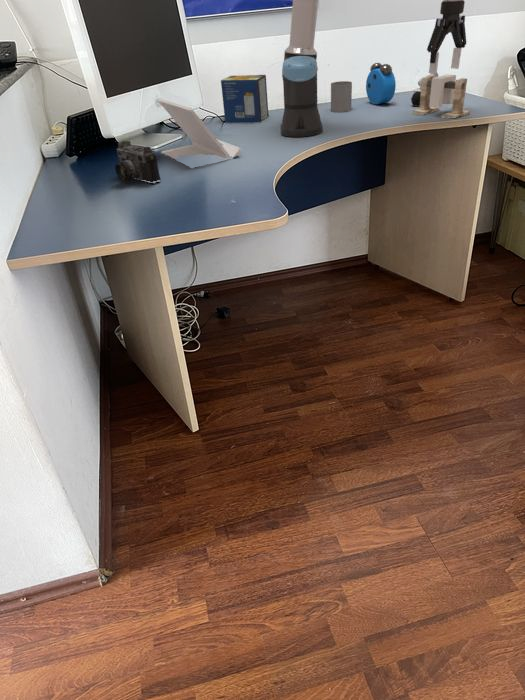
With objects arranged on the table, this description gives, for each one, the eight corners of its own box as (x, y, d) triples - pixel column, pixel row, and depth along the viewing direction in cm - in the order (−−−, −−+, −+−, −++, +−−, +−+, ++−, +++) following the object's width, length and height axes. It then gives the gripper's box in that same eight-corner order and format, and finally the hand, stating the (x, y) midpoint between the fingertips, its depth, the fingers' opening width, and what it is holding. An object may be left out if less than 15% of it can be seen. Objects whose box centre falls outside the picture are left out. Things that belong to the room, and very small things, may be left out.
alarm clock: (394, 105, 215) (397, 63, 207) (382, 107, 214) (384, 65, 205) (376, 100, 225) (378, 61, 217) (364, 102, 224) (365, 62, 215)
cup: (328, 112, 213) (328, 85, 207) (332, 108, 219) (332, 81, 214) (349, 112, 210) (350, 84, 205) (353, 107, 217) (353, 81, 211)
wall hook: (431, 73, 215) (411, 72, 222) (429, 98, 221) (409, 96, 227) (444, 70, 219) (423, 69, 226) (441, 95, 225) (421, 93, 231)
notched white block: (438, 108, 191) (441, 79, 186) (429, 106, 194) (432, 78, 189) (452, 103, 196) (456, 75, 190) (443, 102, 199) (446, 74, 193)
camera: (105, 180, 158) (97, 145, 152) (131, 172, 163) (124, 138, 157) (138, 191, 147) (130, 154, 141) (165, 182, 152) (158, 146, 146)
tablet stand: (192, 169, 161) (183, 110, 151) (160, 154, 179) (151, 99, 169) (243, 157, 168) (237, 99, 158) (208, 143, 186) (201, 91, 176)
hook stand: (453, 119, 188) (458, 82, 182) (412, 113, 200) (414, 78, 193) (469, 113, 193) (474, 77, 186) (427, 108, 205) (431, 74, 198)
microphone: (432, 105, 224) (409, 108, 211) (430, 91, 222) (407, 93, 209) (444, 102, 220) (422, 105, 207) (442, 87, 218) (420, 89, 205)
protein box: (234, 116, 220) (230, 75, 211) (269, 116, 215) (266, 74, 206) (224, 122, 212) (219, 79, 203) (260, 122, 207) (257, 79, 198)
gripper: (441, 2, 168) (432, 76, 180) (483, -3, 180) (472, 67, 192) (421, 2, 172) (413, 74, 185) (464, -3, 185) (454, 65, 197)
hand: (443, 71), depth 189 cm, fingers open, 13 cm apart
